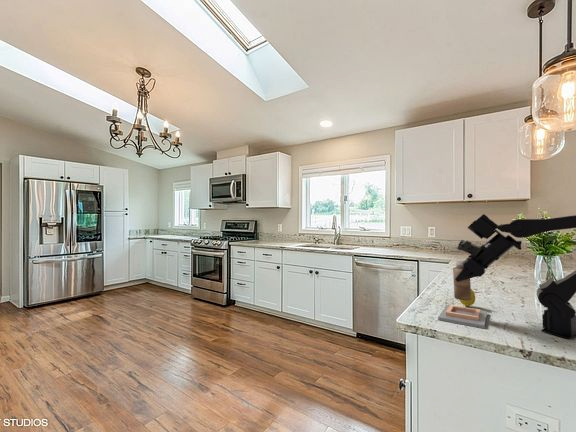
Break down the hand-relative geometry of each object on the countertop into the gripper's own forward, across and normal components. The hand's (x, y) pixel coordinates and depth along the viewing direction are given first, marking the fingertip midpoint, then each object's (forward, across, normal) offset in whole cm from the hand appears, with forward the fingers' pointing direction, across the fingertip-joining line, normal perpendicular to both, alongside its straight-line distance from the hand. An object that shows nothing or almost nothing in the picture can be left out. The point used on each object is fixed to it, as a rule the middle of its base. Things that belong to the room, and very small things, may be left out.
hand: (457, 279), depth 99 cm
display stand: (+8, 0, +10) cm, 13 cm away
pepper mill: (+4, 0, +6) cm, 7 cm away
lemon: (+9, -13, +10) cm, 19 cm away
